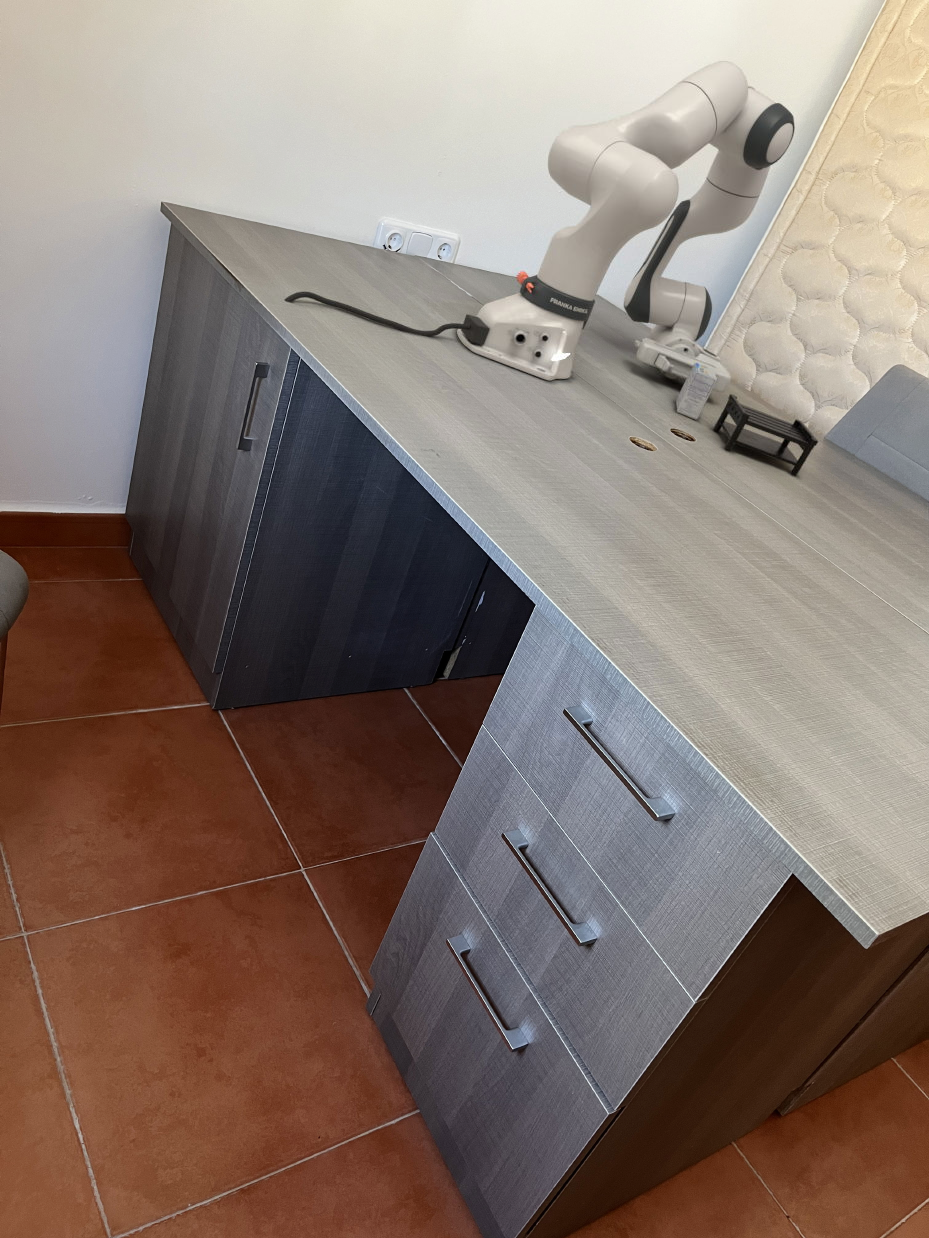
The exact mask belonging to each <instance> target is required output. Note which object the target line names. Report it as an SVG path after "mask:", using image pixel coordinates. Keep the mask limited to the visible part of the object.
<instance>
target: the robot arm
mask: <svg viewBox="0 0 929 1238" xmlns="http://www.w3.org/2000/svg"><path fill="white" fill-rule="evenodd" d="M794 118H795V117H794V115H793V113H792V112H791V111H790V110H789V109H788V108H787V107H786V106H784V105H783V104H782V103H780V102H775V101H774V100H773V99H771V97H768V96H767V95H766V94H764V93H762V92H760V91H758V90H757V89H756V88H754V87H753V86H751V85H749V83H748V80H747V76H746V75H745V73H744V71H743V70H742V69H741V67H739V66H738V65H737V64H735V63H733V62H731V61H728V60H719V61H716V62H713V63H710V64H707V65H706V66H704V67H702V68H700V69H698V70H696V71H695V72H693V73H691V74H689V75H687V76H686V77H685V78H683V79H681V80H680V81H678V82H677V83H676V84H675V85H673V86H672V87H671V88H669V89H667V91H665V92H664V93H663V94H661V95H660V96H659V97H657V98H655V99H654V100H653V101H651V102H650V103H648V104H647V105H645V106H643V107H641V108H639V109H637V110H635V111H632V112H630V113H627V114H624V115H621V116H618V117H614V118H612V119H609V120H606V121H602V122H598V123H592V124H584V125H583V124H582V125H581V124H580V125H570V126H567V127H566V128H564V129H563V130H562V131H561V132H559V134H558V135H557V136H556V138H555V139H554V140H553V142H552V144H551V145H550V146H551V147H550V149H549V151H548V156H547V171H548V174H549V176H550V178H551V179H552V180H553V181H554V182H555V183H556V184H557V186H559V187H560V188H561V189H562V190H564V192H565V193H566V194H568V195H570V197H573V198H575V199H576V200H579V201H581V202H582V203H585V204H587V205H588V206H589V209H588V211H587V213H586V214H585V215H584V217H583V218H582V219H581V220H580V221H579V222H578V223H577V224H575V225H571V226H570V225H569V226H566V227H563V228H560V229H559V230H557V231H555V233H554V234H553V235H552V237H551V239H550V242H549V243H548V246H547V249H546V250H545V251H546V252H545V254H544V257H543V259H542V262H541V264H540V266H539V270H538V272H537V274H536V275H532V276H529V275H528V273H527V272H526V271H524V270H521V271H519V272H518V273H517V274H516V280H517V282H518V283H519V285H520V286H521V287H520V289H519V292H518V293H515V294H512V295H508V296H506V297H502V298H499V299H495V300H493V301H489V302H487V303H485V304H484V305H483V306H482V307H481V309H480V310H479V311H478V313H477V314H476V315H472V314H468V313H466V315H465V317H464V320H463V323H458V322H454V323H453V322H450V323H444V324H442V325H441V326H439V327H437V328H436V329H433V330H420V329H415V328H413V327H409V326H407V325H404V324H402V323H399V322H397V321H394V320H391V319H388V318H384V317H382V316H377V315H376V314H373V313H370V312H367V311H365V310H362V309H359V308H357V307H355V306H352V305H349V304H346V303H343V302H341V301H336V300H332V299H329V298H327V297H325V296H321V295H319V294H317V293H313V292H312V291H311V292H310V291H297V292H295V293H291V294H290V295H289V296H287V297H286V298H284V302H286V303H293V302H294V301H296V300H299V299H303V298H305V299H306V298H307V299H311V300H314V301H316V302H319V303H321V304H323V305H327V306H330V307H334V308H338V309H340V310H343V311H346V312H349V313H352V314H354V315H357V316H360V317H361V318H365V319H367V320H370V321H373V322H375V323H379V324H381V325H385V326H388V327H391V328H394V329H397V330H399V331H401V332H405V333H408V334H413V335H418V336H423V337H435V336H438V335H440V334H442V333H443V332H445V331H446V330H447V331H448V330H451V329H452V330H454V329H455V330H456V334H457V338H458V339H459V341H460V342H461V343H462V345H464V346H465V348H467V349H468V350H470V351H471V352H472V353H474V354H477V355H480V356H481V357H482V356H483V357H485V358H487V359H490V360H493V361H496V362H498V363H501V364H503V365H506V366H509V367H511V368H514V369H516V370H519V371H522V372H525V373H526V374H527V373H528V374H530V375H532V376H535V377H538V378H541V379H543V380H545V381H554V380H556V379H557V380H558V379H559V380H563V379H564V380H566V379H569V378H571V376H572V369H573V362H574V358H575V354H576V350H577V346H578V343H579V339H580V336H581V333H582V331H583V330H584V329H585V327H586V325H587V324H588V322H589V320H590V318H591V315H592V312H593V309H594V306H595V303H596V300H595V298H596V295H597V293H598V292H599V289H600V287H601V284H602V282H603V280H604V278H605V276H606V274H607V272H608V270H609V268H610V266H611V264H612V262H613V261H614V259H615V257H616V256H617V254H619V252H620V251H621V250H622V248H623V247H624V246H625V245H626V244H627V243H629V242H630V241H631V240H632V239H633V238H635V237H636V236H637V235H639V234H640V233H643V232H645V231H648V230H650V229H651V230H652V229H654V228H656V227H658V226H660V225H661V224H663V222H665V220H667V221H666V222H665V224H664V226H663V228H662V229H661V231H660V233H659V234H658V236H657V238H656V241H655V242H654V244H653V245H652V247H651V249H650V251H649V252H648V254H647V256H646V258H645V259H644V262H643V263H642V265H641V266H640V268H639V269H638V271H637V272H636V273H635V275H634V276H633V278H632V280H631V281H630V283H629V285H628V287H627V289H626V291H625V293H624V299H623V308H624V310H625V312H626V314H627V315H628V317H629V318H630V320H631V321H632V322H636V323H644V324H652V325H654V326H653V327H652V328H651V330H650V332H649V335H648V338H647V337H644V338H642V340H637V339H636V340H635V341H634V343H633V344H634V346H635V347H636V348H637V351H636V359H637V360H638V361H639V362H641V363H643V364H646V365H649V366H651V367H653V368H657V369H659V371H660V372H661V374H662V375H663V376H664V377H666V378H667V379H672V380H679V381H686V379H687V377H688V375H689V373H690V371H691V369H692V367H693V365H694V364H695V363H699V364H702V365H704V366H707V367H709V368H711V369H713V370H715V374H716V379H717V381H716V383H715V385H714V387H713V389H712V391H716V392H718V393H724V392H726V390H727V389H728V387H729V385H730V383H731V381H732V375H731V373H730V372H729V370H728V369H727V367H726V366H724V364H722V363H721V360H722V359H721V358H720V356H718V355H716V354H714V353H713V352H711V351H709V350H707V349H706V348H704V347H702V346H701V345H700V344H699V343H697V341H699V340H700V338H701V337H702V336H704V335H705V332H706V330H707V329H708V326H709V324H710V321H711V317H712V313H713V302H712V299H711V295H710V293H709V291H708V289H707V288H706V287H705V286H701V285H698V284H694V283H690V282H686V281H680V280H677V279H671V278H669V277H664V276H662V275H663V274H664V272H665V270H666V268H667V267H668V265H669V263H670V262H671V260H672V259H673V257H674V255H675V253H676V251H677V250H678V248H680V246H681V245H682V244H683V243H685V242H686V241H688V240H691V239H694V238H697V237H702V236H708V235H717V234H719V235H720V234H723V233H727V232H729V231H730V232H731V231H732V230H735V229H737V228H739V227H740V226H742V225H743V224H744V223H745V222H746V221H747V220H748V219H749V217H750V216H751V214H752V213H753V211H754V209H755V207H756V206H757V203H758V201H759V198H760V196H761V194H762V191H763V189H764V187H765V183H766V180H767V178H768V175H769V171H770V169H771V166H773V165H774V164H776V163H778V161H780V159H782V157H783V156H784V155H785V154H786V152H787V151H788V149H789V147H790V145H791V144H792V140H793V139H794V134H795V130H796V129H795V127H796V126H795V119H794ZM708 145H710V146H712V147H714V148H716V150H718V151H717V153H716V155H715V157H714V159H713V161H712V163H711V165H710V168H709V170H708V173H707V174H706V177H705V179H704V182H703V183H702V185H701V187H700V188H699V189H698V190H697V191H696V193H695V194H693V195H692V196H691V197H690V198H688V199H685V200H683V201H680V203H679V204H678V205H677V206H676V204H677V201H678V198H679V191H680V190H679V189H680V188H679V187H680V186H679V178H678V176H677V174H676V172H675V171H674V169H676V168H678V167H680V166H682V165H683V164H684V163H685V162H687V161H688V160H689V159H691V158H692V157H693V156H695V155H696V154H698V152H699V151H701V150H702V149H703V148H704V147H706V146H708Z"/></svg>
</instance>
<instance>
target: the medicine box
mask: <svg viewBox="0 0 929 1238" xmlns="http://www.w3.org/2000/svg"><path fill="white" fill-rule="evenodd" d="M684 381H685V382H684V383H683V386H682V387H681V389H680V391H679V393H678V395H677V398H676V400H675V405H676V413H678V414H681V415H683V416H685V417H688V418H690V419H693V420H694V421H696V420H698V418H699V417H700V415H701V413H702V412H703V411H702V410H703V409H704V407H705V405H706V403H707V401H708V399H709V397H710V395H711V393H712V391H713V387H714V385H715V383H716V381H717V379H716V374H715V370H713V369H711V368H709V367H707V366H704V365H702V364H699V363H695V364H694V365H693V367H692V369H691V371H690V373H689V375H688V377H687V379H686V380H684Z"/></svg>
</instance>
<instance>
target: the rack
mask: <svg viewBox="0 0 929 1238" xmlns="http://www.w3.org/2000/svg"><path fill="white" fill-rule="evenodd" d="M728 416H729V417H730V419H732V421H733V423H730V422H728V421H726V419H727V418H728ZM745 426H749V427H751V428H754V429H757V430H760V431H761V432H765V433H767V434H770V435H773V436H775V437H778V438H780V439H783V440H782V442H781V441H778V440H775V439H774V438H770V437H767V436H765V435H762V434H759V433H758V432H754V431H751V430H749V429H746V428H745ZM721 429H722V430H723V432H724V434H725V435H726V437H727V438H728V441H727V442H726V445H725V447H724V450H725V451H726V452H729V453H730V452H731V451H732V450H733V448H734V446H735V444H736V445H738V446H741V447H742V448H745V449H749V450H751V451H754V452H757V453H758V454H762V455H764V456H767V457H770V458H773V459H775V460H778V461H780V462H784V463H787V464H789V465H792V466H793V468H792V469H791V471H790V475H792V476H793V477H797V475H798V474H799V472H800V470H801V468H803V466H804V464H805V462H806V460H807V459H808V458H809V456H810V454H811V453H812V451H813V450H814V448H815V447H816V446H817V445H818V443H819V439H817V438H816V437H815V435H814V434H813V433H812V432H811V431H810V430H809V428H808V427H807V426H806V425H805V424H804V422H803V421H801V420H800V419H797V418H796V419H794V421H793V423H792V422H789V421H787V420H784V419H781V418H779V417H776V416H773V415H770V414H768V413H765V412H763V411H760V410H758V409H756V408H752V407H750V406H748V405H745V404H743V403H740V402H739V400H738V396H737V395H735V394H729V395H728V398H727V402H726V404H725V406H724V408H723V410H722V412H721V414H720V416H719V417H718V419H717V421H716V423H715V425H714V427H713V428H712V431H713V432H715V433H719V432H720V431H721ZM790 443H794V444H797V445H798V446H799V448H800V449H801V450H802V452H801V454H800V456H799V457H798V459H797V457H796V456H795V455H794V453H793V451H791V449H790V448H789V447H788V446H789V444H790Z"/></svg>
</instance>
